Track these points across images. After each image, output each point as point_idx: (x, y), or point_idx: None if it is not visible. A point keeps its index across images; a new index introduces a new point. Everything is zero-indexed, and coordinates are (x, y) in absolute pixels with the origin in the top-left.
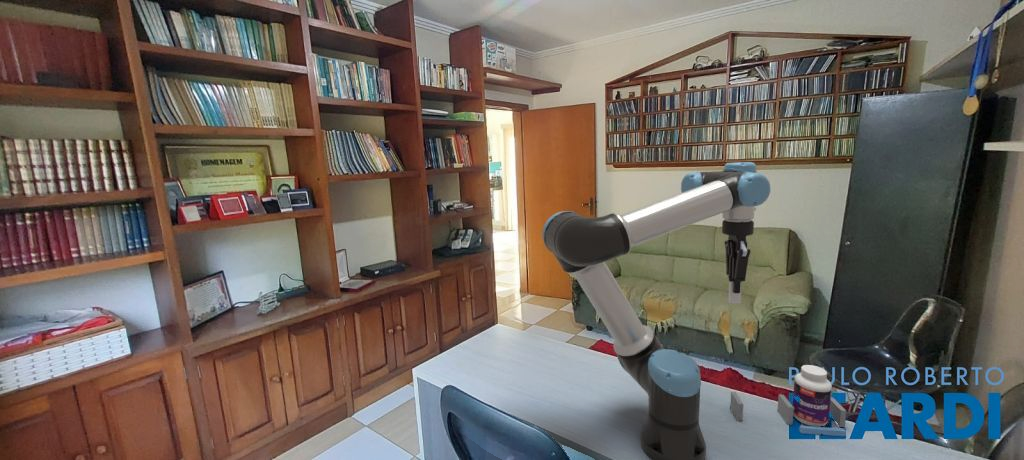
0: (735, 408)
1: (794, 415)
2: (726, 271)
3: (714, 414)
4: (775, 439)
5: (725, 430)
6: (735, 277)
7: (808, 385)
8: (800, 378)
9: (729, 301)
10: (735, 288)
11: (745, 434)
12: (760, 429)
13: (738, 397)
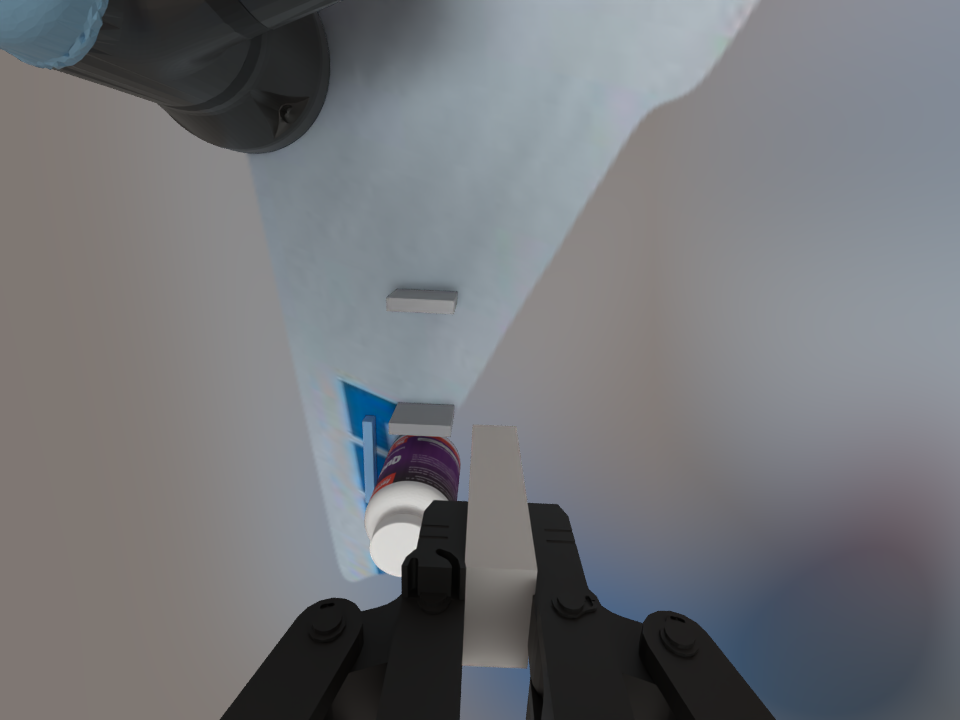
0: (414, 293)
1: None
2: (717, 653)
3: (420, 234)
4: (332, 349)
5: (348, 240)
6: (283, 655)
7: (374, 501)
8: (402, 498)
9: (488, 431)
10: (418, 541)
11: (340, 286)
12: (367, 331)
13: (422, 311)
